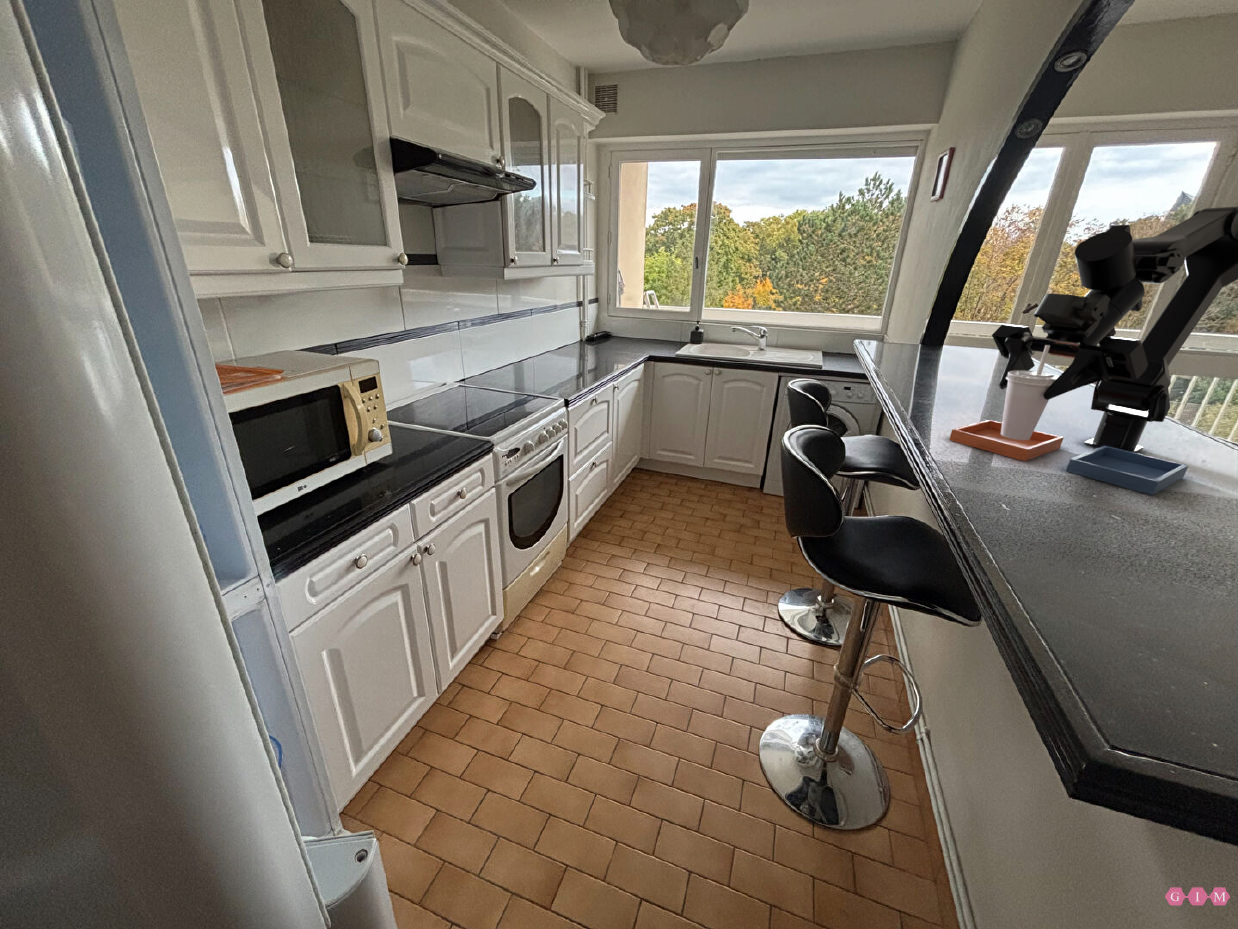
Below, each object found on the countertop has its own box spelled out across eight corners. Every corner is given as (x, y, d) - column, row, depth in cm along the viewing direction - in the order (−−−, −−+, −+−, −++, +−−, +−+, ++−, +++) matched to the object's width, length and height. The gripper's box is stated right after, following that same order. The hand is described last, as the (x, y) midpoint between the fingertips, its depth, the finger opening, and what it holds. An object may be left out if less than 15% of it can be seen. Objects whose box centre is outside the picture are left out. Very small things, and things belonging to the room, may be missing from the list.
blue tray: (1099, 457, 86) (1104, 445, 86) (1183, 477, 78) (1188, 465, 77) (1065, 471, 80) (1070, 458, 79) (1152, 495, 72) (1158, 482, 71)
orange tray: (985, 429, 100) (988, 419, 99) (1059, 448, 90) (1064, 437, 89) (948, 440, 94) (951, 429, 93) (1024, 461, 84) (1028, 449, 83)
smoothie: (1046, 445, 75) (1078, 350, 69) (994, 439, 77) (1021, 347, 72) (1034, 432, 80) (1063, 342, 75) (986, 427, 83) (1011, 340, 77)
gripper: (1017, 270, 79) (946, 346, 80) (1169, 274, 63) (1077, 369, 64) (1038, 320, 84) (971, 390, 85) (1182, 335, 68) (1098, 422, 69)
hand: (1021, 392), depth 76 cm, fingers closed on smoothie, 6 cm apart
